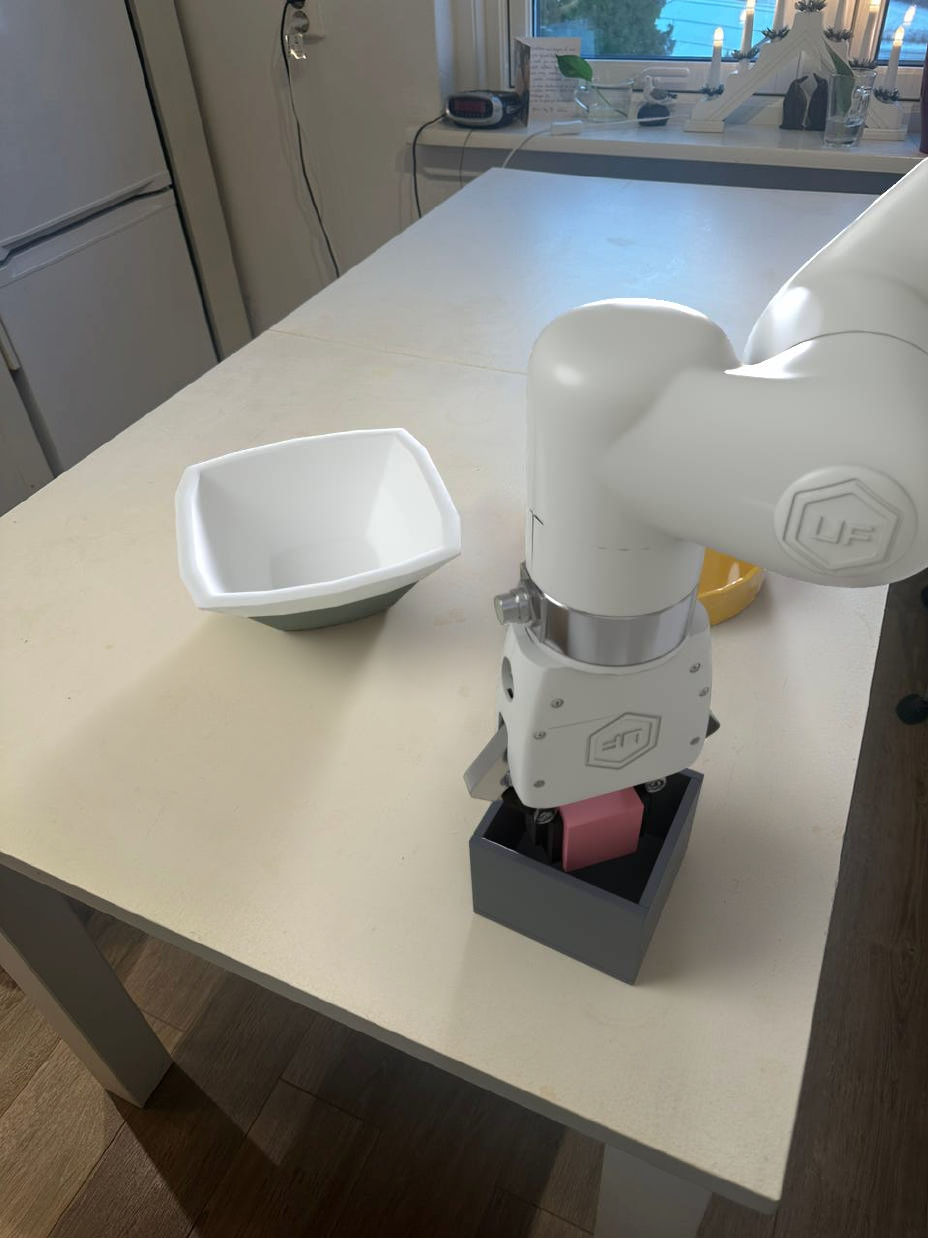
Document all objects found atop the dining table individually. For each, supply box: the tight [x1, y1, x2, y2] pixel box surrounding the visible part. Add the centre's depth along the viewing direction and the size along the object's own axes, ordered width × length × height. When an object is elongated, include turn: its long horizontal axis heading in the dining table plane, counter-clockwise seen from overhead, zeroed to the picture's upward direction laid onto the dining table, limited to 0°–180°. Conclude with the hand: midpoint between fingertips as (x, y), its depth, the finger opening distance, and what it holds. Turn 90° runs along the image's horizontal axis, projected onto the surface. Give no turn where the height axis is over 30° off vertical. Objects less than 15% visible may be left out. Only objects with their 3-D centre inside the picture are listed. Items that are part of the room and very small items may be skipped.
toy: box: [558, 786, 644, 872], centre depth 50 cm, size 4×4×4 cm
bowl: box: [174, 427, 462, 631], centre depth 74 cm, size 22×23×8 cm
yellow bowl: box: [697, 548, 768, 627], centre depth 77 cm, size 20×20×4 cm
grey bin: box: [468, 767, 705, 987], centre depth 52 cm, size 10×10×8 cm
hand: (587, 828), depth 51 cm, fingers closed on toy, 4 cm apart
